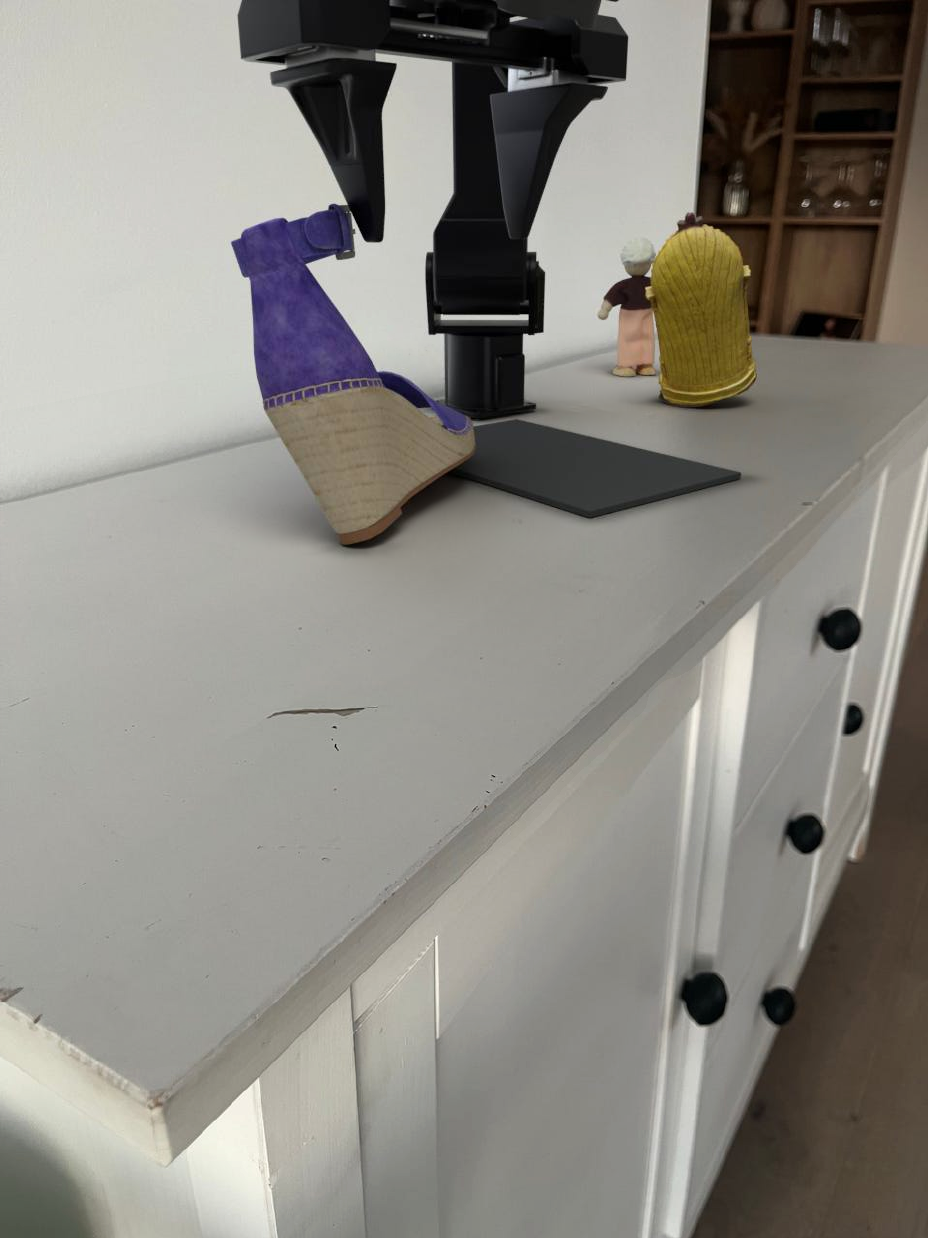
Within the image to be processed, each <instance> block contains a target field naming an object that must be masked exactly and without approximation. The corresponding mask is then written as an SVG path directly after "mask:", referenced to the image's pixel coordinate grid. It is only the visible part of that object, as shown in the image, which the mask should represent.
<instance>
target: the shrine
mask: <svg viewBox="0 0 928 1238" xmlns="http://www.w3.org/2000/svg"><path fill="white" fill-rule="evenodd" d="M704 220H705V218H704V216H702V215H700V216H699V215H698V216H696V215H695V213H694V212H693V211H691V212H686V213H685V216H684V219H679V220H678V221H677V222H676V225H677V230H676V231H675V232H674V233H671V235H670V236H669V238H666V239H665V243H664V244H663V245H662V246H661V249H659V250H658V252H657V254H656V256H655V262H653V263H652V264H651V267H652V268H650V272H651V274H650V277H651V278H650V279H651V286H649V287H645V290H646V294H645V297H646V299H647V300H649V301H651V306H652V307H651V308H652V310H653V318H654V324H655V329H656V334H657V341H658V350H659V357H658V360H659V363H660V364H659V367H660V368H659V369H660V372H661V373H660V374H659V376H658V384H659V385H660V390H659V395H658V397H659V398H658V399H659V400H660V401H661V402H662V403H665V404H667V405H671V406H676V407H679V408H698V407H703V406H709V405H713V404H716V403H717V402H720V401H721V400H723V399H728V398H731V397H734V396H739V395H741V394H743V393H745V392H748V391H749V389H750V388H751V387H752V386H753V385H754V384H755V382H756V380H757V370H756V363H755V358H754V356H753V348H752V345H751V343H752V336H751V335H750V334H751V333H750V329H751V328H750V327H751V326H750V320H749V319H750V318H749V308H748V307H749V306H748V297H747V294H748V293H747V292H748V291H747V290H748V282H749V281H750V278H751V275H752V270H751V268H750V266H749V265H744V262H743V260H744V259H743V256H742V253H741V251H740V249H739V246H738V245H737V244H736V243H735V242H734V241H733V240H732V239H731V237H730V236H729V235H727V234H726V233H725V231H722V230H721V229H719V228H716V229H715V228H714V226H712V225H711V226H710V225H708V224H703V223H704Z"/></svg>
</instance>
